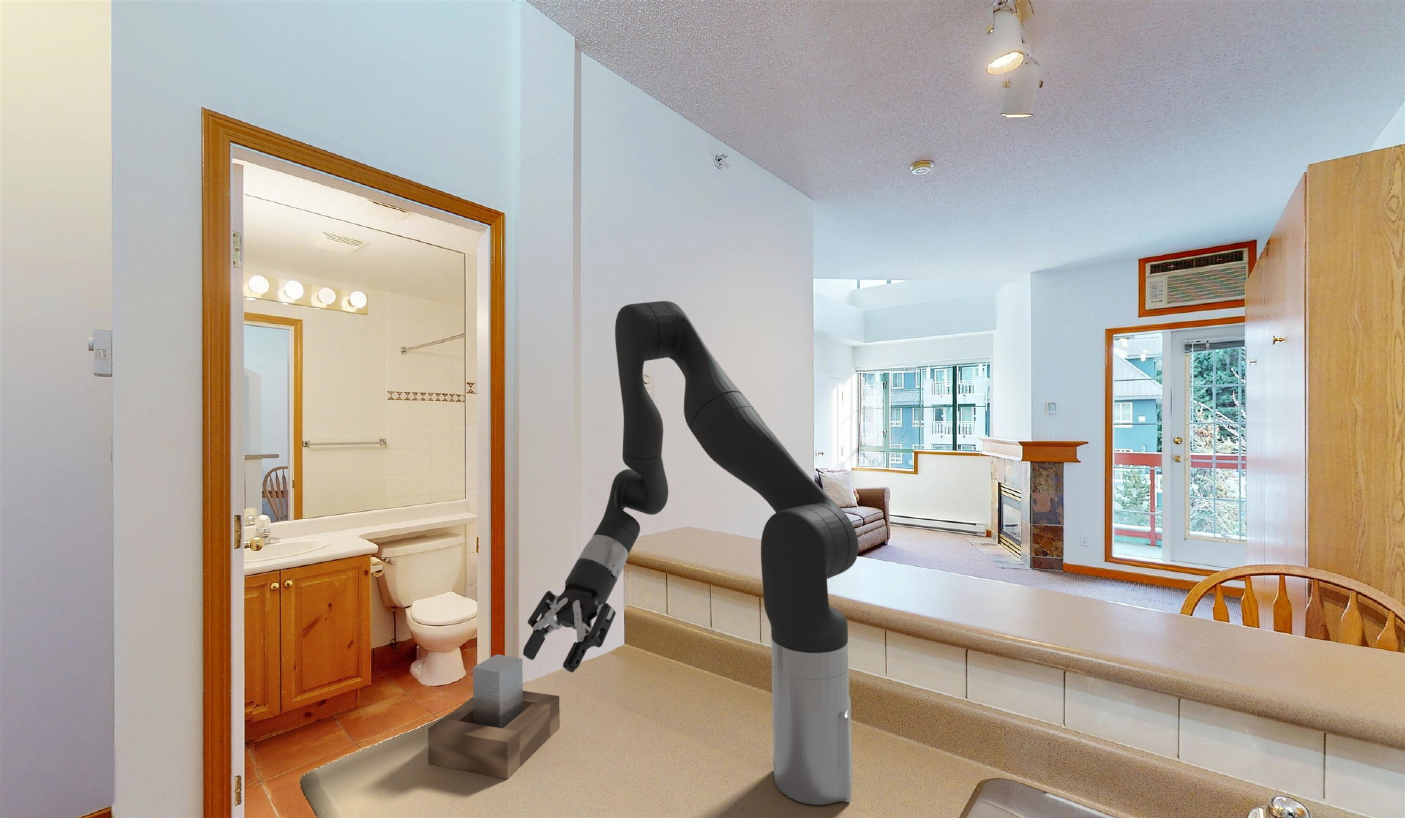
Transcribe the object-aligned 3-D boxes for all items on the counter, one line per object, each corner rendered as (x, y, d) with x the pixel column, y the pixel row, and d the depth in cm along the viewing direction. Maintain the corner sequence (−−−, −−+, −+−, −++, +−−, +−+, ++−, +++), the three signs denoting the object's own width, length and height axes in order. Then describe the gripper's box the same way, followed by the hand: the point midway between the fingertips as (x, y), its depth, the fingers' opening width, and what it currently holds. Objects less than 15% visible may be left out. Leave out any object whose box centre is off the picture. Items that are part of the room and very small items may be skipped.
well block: (559, 727, 80) (559, 695, 81) (507, 779, 69) (507, 742, 69) (489, 715, 84) (488, 685, 84) (428, 763, 72) (428, 728, 73)
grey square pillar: (523, 738, 78) (522, 658, 78) (500, 756, 74) (499, 672, 74) (497, 732, 80) (497, 654, 80) (473, 749, 75) (473, 667, 76)
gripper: (555, 551, 96) (500, 642, 86) (620, 561, 88) (568, 662, 78) (578, 575, 100) (528, 664, 90) (641, 586, 93) (594, 685, 83)
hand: (547, 663), depth 84 cm, fingers open, 8 cm apart
